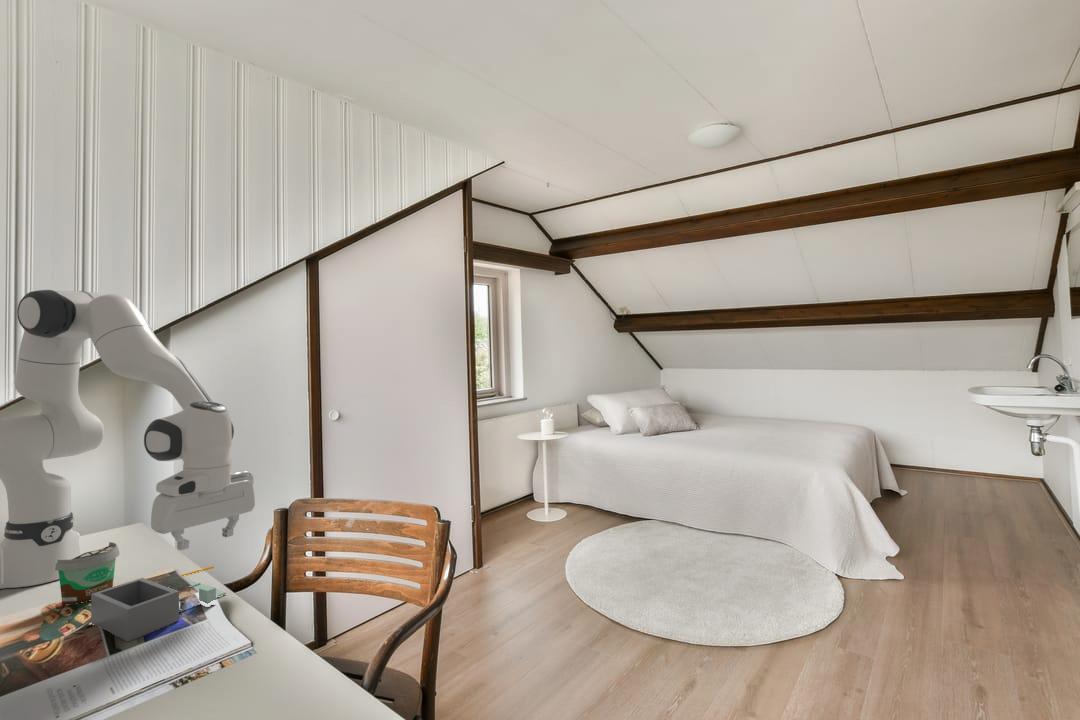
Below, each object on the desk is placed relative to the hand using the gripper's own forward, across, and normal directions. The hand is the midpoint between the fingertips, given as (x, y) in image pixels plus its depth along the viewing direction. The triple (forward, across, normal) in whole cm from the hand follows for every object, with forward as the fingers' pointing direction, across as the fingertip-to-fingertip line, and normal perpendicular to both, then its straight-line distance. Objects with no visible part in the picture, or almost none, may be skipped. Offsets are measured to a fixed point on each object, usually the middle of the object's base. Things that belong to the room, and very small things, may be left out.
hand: (206, 542), depth 116 cm
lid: (+14, 0, -6) cm, 15 cm away
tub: (+13, +11, -4) cm, 18 cm away
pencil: (+14, -4, -20) cm, 25 cm away
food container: (+14, +9, -25) cm, 30 cm away
